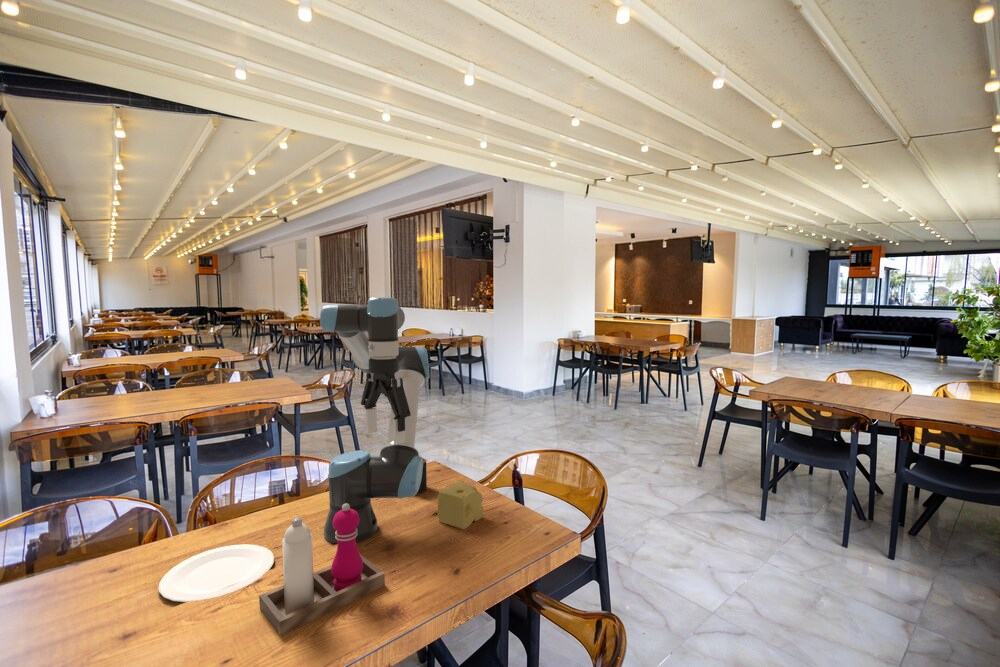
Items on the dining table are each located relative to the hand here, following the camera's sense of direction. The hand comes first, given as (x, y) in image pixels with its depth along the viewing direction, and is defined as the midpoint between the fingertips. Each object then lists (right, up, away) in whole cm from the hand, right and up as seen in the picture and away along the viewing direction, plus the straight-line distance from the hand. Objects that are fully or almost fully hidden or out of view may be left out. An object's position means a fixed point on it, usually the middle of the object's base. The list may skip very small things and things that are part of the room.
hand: (385, 437), depth 125 cm
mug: (0, -30, +46) cm, 55 cm away
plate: (-40, -34, -5) cm, 53 cm away
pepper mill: (-6, -33, -12) cm, 35 cm away
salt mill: (-14, -33, -20) cm, 41 cm away
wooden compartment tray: (-10, -34, -16) cm, 39 cm away
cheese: (+18, -31, +24) cm, 43 cm away
